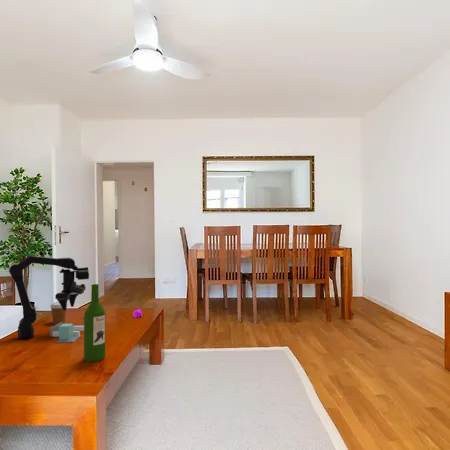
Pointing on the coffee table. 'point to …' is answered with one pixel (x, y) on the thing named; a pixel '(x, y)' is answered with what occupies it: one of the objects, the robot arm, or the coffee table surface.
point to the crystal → (137, 313)
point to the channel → (55, 330)
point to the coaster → (69, 340)
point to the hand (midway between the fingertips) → (68, 308)
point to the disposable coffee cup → (58, 313)
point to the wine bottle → (94, 328)
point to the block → (65, 331)
